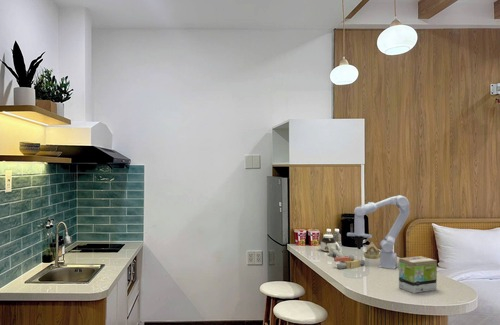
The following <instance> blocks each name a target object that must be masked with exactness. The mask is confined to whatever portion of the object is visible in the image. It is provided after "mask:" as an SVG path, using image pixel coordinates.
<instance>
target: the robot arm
mask: <svg viewBox="0 0 500 325" xmlns="http://www.w3.org/2000/svg"><path fill="white" fill-rule="evenodd" d="M388 205H394V206H396V207H397V208H398V211H399V213H398V215H397V217H396V219H395V221H394V222H393V224H392V226H391V228H390V230H389V231H388V233H387V234H386V235H385V236H384V239H382V240H380V243H379V246H380V248H381V249H379V250H380V252H379V254H380V257H379V265H378V267H379V268H386V269H392V270H396V268H397V267H398V254H397V252H394V251H393V249H394V245H395V243H396V239H397V237H398V235H399V233H400V231H401V230H402V228H403V226H404V224H405V223H406V221H407V219H408V217H409V216H410V214H411V212H410V201H409V200H408V198H407V197H406V196H404V195H401V194H398V195H395V196H394V195H393V196H391V197H388V198H385V199H383V200H380V201H377V202H374V201H368V202H367V203H366V204H360V206H356V207H355V208H354V211H353V213H354V221H353V222H354V228H353V229H354V231H353V232H347V233H346V236H347V237H354V238H353V239H354V241H355V244H356V247H357V250H361V248H362V244H363V242H364V240H365V238H367V239H368V238H369V239H372V238H373V236H372V234H370V233H369V234H368V233H365V218H364V217H365V215H369V214H371V213H374V212H376V211H377V209H379V208H382V207H387V206H388Z"/></svg>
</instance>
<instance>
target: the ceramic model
mask: <svg viewBox="0 0 500 325" xmlns="http://www.w3.org/2000/svg"><path fill="white" fill-rule="evenodd" d="M380 250H381V249H378V247H377V246H376V245H375V243H374V242H373V241H371V242H370V243H369V244H368V246H367V247H366V251H365V252H364V253H363V257H365V258H366V259H380Z"/></svg>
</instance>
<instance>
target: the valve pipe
mask: <svg viewBox="0 0 500 325" xmlns="http://www.w3.org/2000/svg"><path fill="white" fill-rule="evenodd" d="M365 265H366V261H365V259H357V258H354V261H341V263H337V265H336V268H337V269H338V270H342V269H347V270H349V269H350V270H352V269H357V268H360V267H361V266H365Z"/></svg>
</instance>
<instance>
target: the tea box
mask: <svg viewBox="0 0 500 325" xmlns="http://www.w3.org/2000/svg"><path fill="white" fill-rule="evenodd" d="M398 259H399V261H398V262H399V263H398V288H399V289H402V290H404V291H407V292H408V293H409V292H410V293H411V294H416V293H421V292H422V293H423V292H430V290H431V291H436V290H437V281H438V280H437V276H438V275H437V274H438V273H437V270H438V262H437V259H432V258H429V257H426V256H423V255H420V256H410V257H400V258H398Z"/></svg>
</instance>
